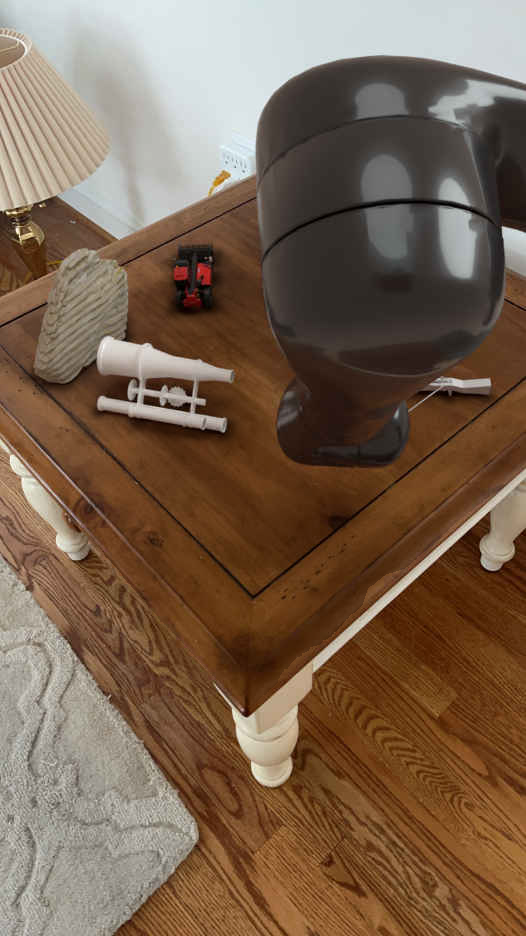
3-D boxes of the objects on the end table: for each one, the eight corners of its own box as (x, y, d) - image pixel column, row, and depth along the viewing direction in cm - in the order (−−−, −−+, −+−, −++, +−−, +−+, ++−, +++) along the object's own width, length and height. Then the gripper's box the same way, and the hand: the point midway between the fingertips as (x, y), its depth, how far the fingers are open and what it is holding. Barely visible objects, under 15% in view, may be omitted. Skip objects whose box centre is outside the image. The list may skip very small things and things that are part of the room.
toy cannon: (231, 431, 79) (216, 435, 74) (110, 409, 82) (88, 411, 77) (242, 357, 78) (228, 355, 73) (119, 337, 81) (97, 334, 76)
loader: (180, 256, 96) (174, 224, 92) (215, 254, 96) (212, 222, 92) (174, 318, 88) (169, 286, 85) (213, 316, 88) (209, 284, 84)
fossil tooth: (30, 379, 85) (114, 296, 91) (70, 399, 82) (153, 312, 88) (-14, 304, 76) (82, 217, 82) (29, 323, 73) (125, 232, 79)
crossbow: (334, 437, 77) (333, 423, 75) (338, 352, 85) (337, 338, 83) (494, 437, 75) (497, 423, 73) (483, 350, 82) (485, 336, 81)
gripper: (425, 260, 67) (416, 159, 77) (268, 259, 68) (280, 159, 78) (415, 325, 72) (408, 223, 83) (271, 323, 74) (282, 222, 84)
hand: (346, 192), depth 81 cm, fingers closed on game box, 3 cm apart
